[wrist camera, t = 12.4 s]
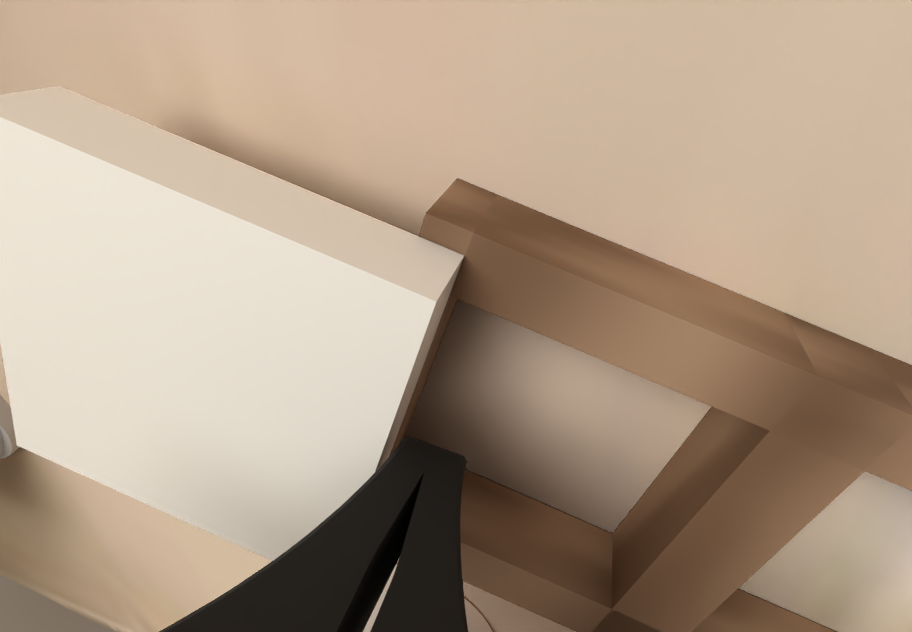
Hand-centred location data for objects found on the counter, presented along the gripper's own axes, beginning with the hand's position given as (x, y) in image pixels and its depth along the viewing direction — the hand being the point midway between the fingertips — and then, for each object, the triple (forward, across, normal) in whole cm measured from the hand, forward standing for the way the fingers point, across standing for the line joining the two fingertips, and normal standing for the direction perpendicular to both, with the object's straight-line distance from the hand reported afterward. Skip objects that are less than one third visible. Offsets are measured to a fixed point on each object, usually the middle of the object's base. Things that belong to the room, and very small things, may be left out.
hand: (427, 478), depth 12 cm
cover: (+2, +6, 0) cm, 6 cm away
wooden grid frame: (+4, -7, +1) cm, 8 cm away
